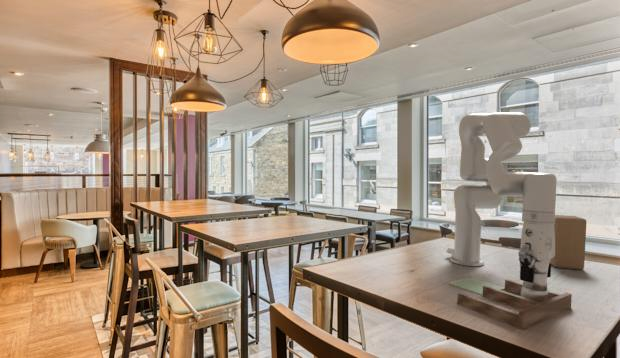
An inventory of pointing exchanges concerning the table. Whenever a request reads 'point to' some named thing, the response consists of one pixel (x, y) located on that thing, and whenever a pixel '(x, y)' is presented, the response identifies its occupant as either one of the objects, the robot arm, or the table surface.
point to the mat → (474, 285)
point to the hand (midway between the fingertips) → (535, 278)
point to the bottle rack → (516, 305)
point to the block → (569, 242)
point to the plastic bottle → (537, 281)
